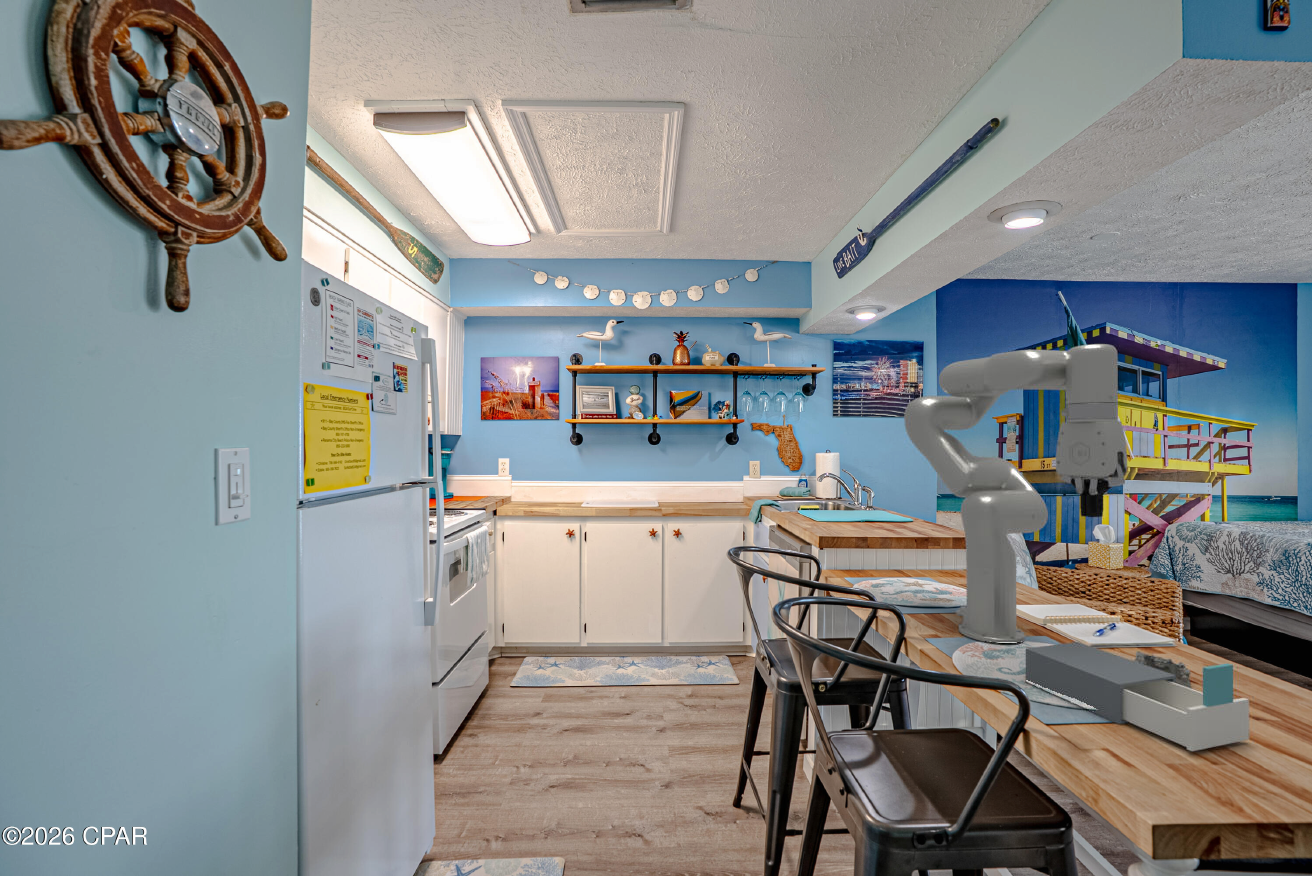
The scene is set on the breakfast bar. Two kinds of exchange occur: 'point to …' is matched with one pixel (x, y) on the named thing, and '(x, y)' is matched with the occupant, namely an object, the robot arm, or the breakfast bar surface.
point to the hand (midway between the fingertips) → (1091, 516)
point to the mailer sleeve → (1089, 675)
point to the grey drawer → (1190, 710)
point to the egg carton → (1166, 667)
